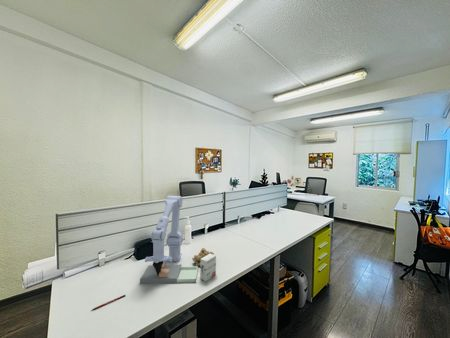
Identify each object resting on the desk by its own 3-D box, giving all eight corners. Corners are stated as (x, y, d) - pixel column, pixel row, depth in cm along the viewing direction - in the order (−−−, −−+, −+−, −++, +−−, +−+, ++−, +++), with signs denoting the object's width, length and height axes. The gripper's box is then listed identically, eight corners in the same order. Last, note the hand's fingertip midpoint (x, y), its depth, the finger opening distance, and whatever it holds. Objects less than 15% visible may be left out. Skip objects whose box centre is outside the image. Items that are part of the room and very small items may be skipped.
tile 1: (157, 265, 109) (157, 262, 109) (165, 265, 109) (165, 262, 109) (155, 270, 104) (155, 267, 104) (163, 270, 105) (163, 266, 105)
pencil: (90, 311, 79) (90, 309, 79) (125, 296, 88) (125, 294, 88) (90, 312, 78) (90, 310, 78) (125, 297, 87) (125, 295, 87)
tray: (181, 269, 110) (181, 266, 110) (198, 269, 110) (198, 266, 110) (176, 282, 98) (176, 279, 98) (195, 282, 98) (195, 278, 98)
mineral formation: (203, 255, 127) (220, 260, 119) (190, 267, 116) (209, 273, 108) (201, 245, 126) (219, 249, 118) (189, 256, 114) (207, 262, 107)
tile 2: (161, 272, 103) (161, 268, 103) (169, 272, 103) (169, 268, 103) (159, 277, 98) (159, 273, 98) (167, 277, 98) (167, 273, 98)
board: (148, 269, 109) (148, 265, 109) (181, 268, 111) (181, 264, 110) (139, 283, 97) (139, 279, 96) (176, 282, 98) (176, 278, 98)
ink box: (210, 271, 108) (210, 252, 108) (216, 274, 105) (216, 255, 105) (199, 278, 102) (199, 258, 101) (205, 282, 99) (205, 261, 98)
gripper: (142, 253, 95) (142, 278, 96) (169, 253, 96) (169, 277, 97) (147, 247, 103) (147, 270, 103) (172, 247, 103) (172, 270, 104)
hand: (158, 273), depth 100 cm, fingers closed
